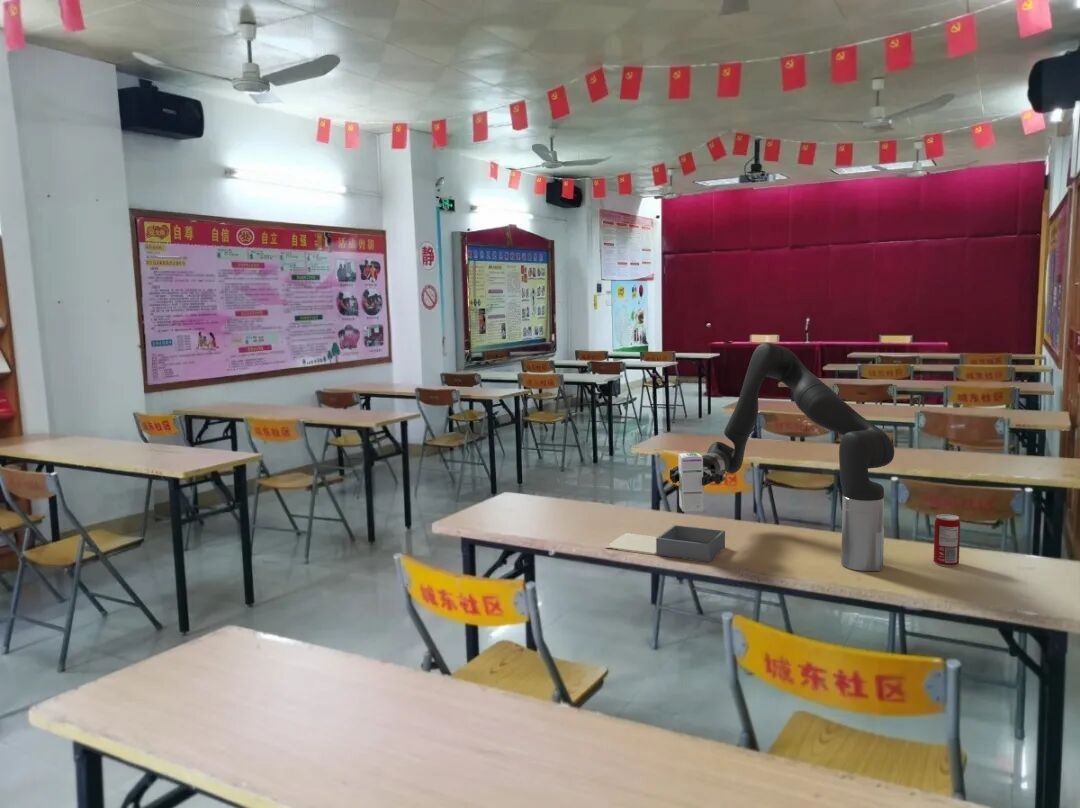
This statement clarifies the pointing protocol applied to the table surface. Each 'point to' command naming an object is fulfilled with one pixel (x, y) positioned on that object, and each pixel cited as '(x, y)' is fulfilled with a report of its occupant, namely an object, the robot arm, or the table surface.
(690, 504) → the syrup box
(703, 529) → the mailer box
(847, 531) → the robot arm
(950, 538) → the soda can
